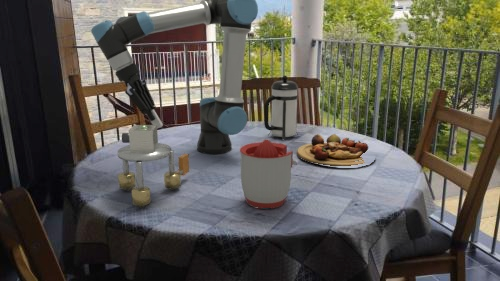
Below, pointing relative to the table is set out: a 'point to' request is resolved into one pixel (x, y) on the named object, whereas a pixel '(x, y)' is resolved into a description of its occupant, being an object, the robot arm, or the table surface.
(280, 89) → the coffee press
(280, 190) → the citrus juicer
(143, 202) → the tribrach stand
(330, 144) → the wooden plate with food
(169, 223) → the table surface
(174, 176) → the lever
